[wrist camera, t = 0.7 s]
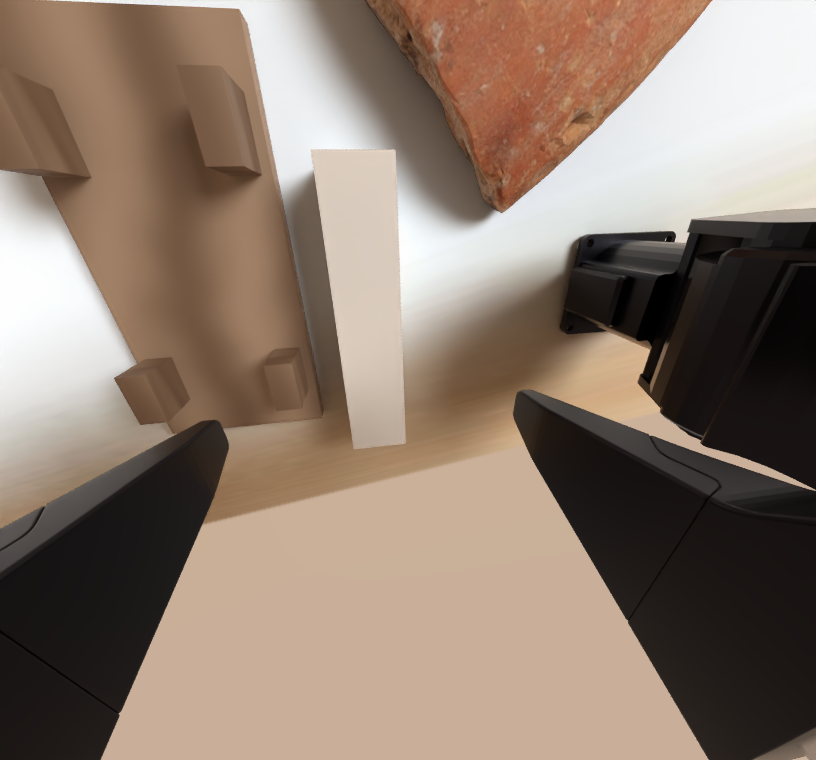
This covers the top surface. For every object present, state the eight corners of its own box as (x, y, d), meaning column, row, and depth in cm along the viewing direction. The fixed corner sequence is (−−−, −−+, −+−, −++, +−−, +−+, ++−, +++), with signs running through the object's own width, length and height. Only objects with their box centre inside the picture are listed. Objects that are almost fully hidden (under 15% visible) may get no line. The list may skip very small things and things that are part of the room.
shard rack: (247, 23, 13) (211, -40, 10) (323, 410, 22) (317, 440, 19) (-20, 13, 12) (-157, -63, 9) (180, 424, 21) (150, 458, 18)
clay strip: (388, 165, 16) (395, 149, 12) (399, 410, 24) (405, 443, 20) (322, 165, 16) (310, 149, 12) (354, 415, 23) (353, 449, 20)
